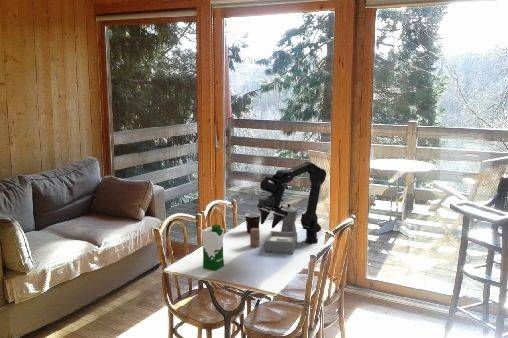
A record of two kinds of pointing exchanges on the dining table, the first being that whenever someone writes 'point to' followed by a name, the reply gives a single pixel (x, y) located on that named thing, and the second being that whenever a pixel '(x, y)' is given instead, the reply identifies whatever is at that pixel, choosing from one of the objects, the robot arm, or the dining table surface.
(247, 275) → the dining table surface
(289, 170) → the robot arm
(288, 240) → the bore box
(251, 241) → the peg
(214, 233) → the milk carton
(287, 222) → the coffeepot
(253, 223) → the coffee mug
